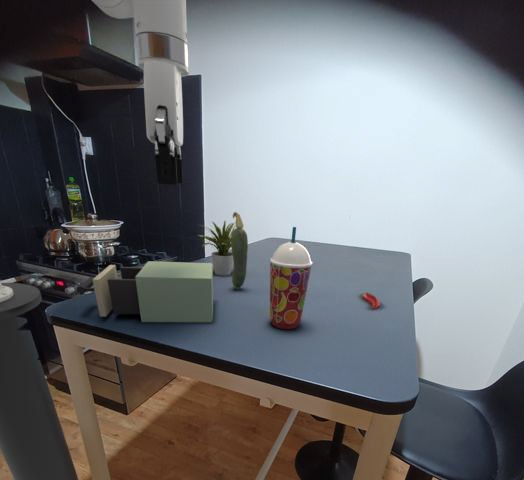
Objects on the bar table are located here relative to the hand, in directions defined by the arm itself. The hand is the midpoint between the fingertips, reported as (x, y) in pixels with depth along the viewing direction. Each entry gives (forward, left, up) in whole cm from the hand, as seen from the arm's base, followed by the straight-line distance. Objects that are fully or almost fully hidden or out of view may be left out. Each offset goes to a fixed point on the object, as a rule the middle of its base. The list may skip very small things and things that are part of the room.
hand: (171, 183), depth 57 cm
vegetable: (+14, +19, -26) cm, 35 cm away
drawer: (-11, +3, -25) cm, 28 cm away
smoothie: (+23, -4, -26) cm, 35 cm away
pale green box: (0, +3, -26) cm, 26 cm away
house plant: (+10, +37, -26) cm, 47 cm away
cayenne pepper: (+49, +11, -26) cm, 57 cm away
